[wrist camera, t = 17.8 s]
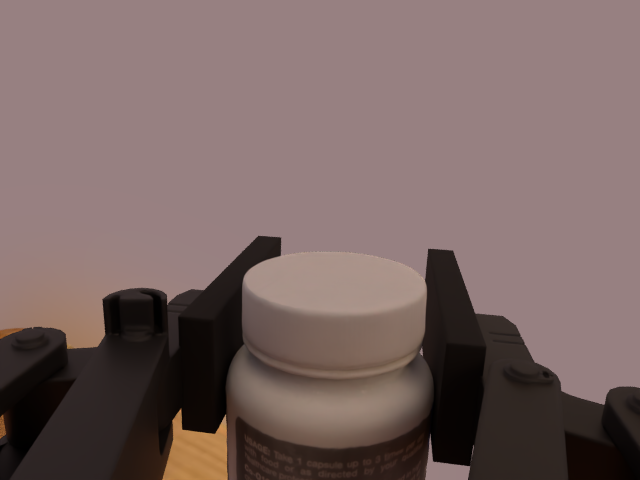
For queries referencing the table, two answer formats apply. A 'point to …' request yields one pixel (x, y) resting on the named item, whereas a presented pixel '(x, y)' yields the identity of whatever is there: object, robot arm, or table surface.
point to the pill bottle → (330, 371)
